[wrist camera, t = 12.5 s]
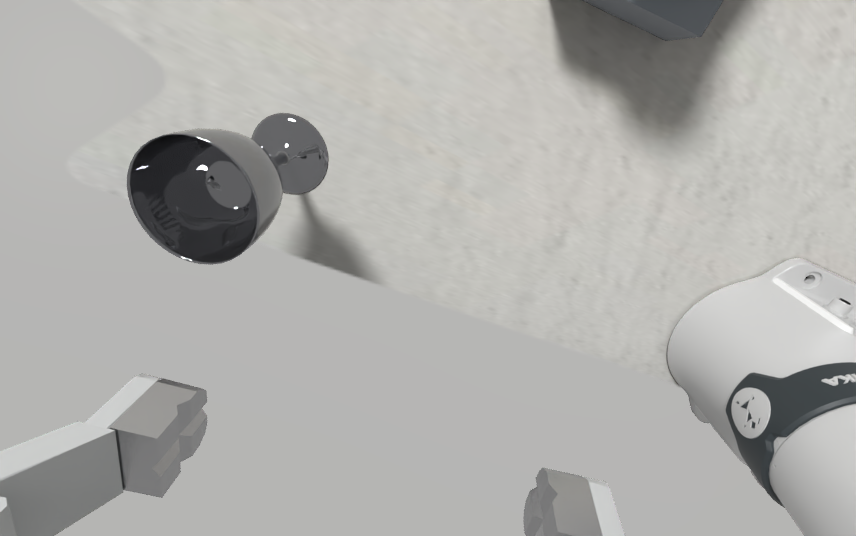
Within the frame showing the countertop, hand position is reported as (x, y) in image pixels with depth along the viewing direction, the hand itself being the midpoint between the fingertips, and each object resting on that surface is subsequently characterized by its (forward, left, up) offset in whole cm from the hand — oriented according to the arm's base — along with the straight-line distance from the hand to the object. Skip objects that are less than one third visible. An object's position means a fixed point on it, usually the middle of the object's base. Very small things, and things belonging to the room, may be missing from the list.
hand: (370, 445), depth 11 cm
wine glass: (+14, +2, -31) cm, 34 cm away
